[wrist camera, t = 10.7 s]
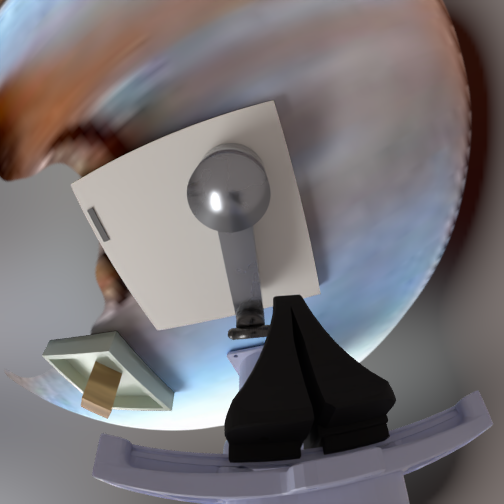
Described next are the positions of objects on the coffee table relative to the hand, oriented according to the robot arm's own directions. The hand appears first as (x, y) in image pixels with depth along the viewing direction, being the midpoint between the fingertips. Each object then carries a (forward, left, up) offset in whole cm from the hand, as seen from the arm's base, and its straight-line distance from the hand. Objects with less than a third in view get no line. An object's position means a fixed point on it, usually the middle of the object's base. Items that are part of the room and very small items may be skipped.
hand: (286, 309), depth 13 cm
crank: (+2, -1, -7) cm, 8 cm away
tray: (+26, +14, -9) cm, 31 cm away
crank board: (+5, -1, -9) cm, 10 cm away
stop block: (+27, +14, -8) cm, 31 cm away
